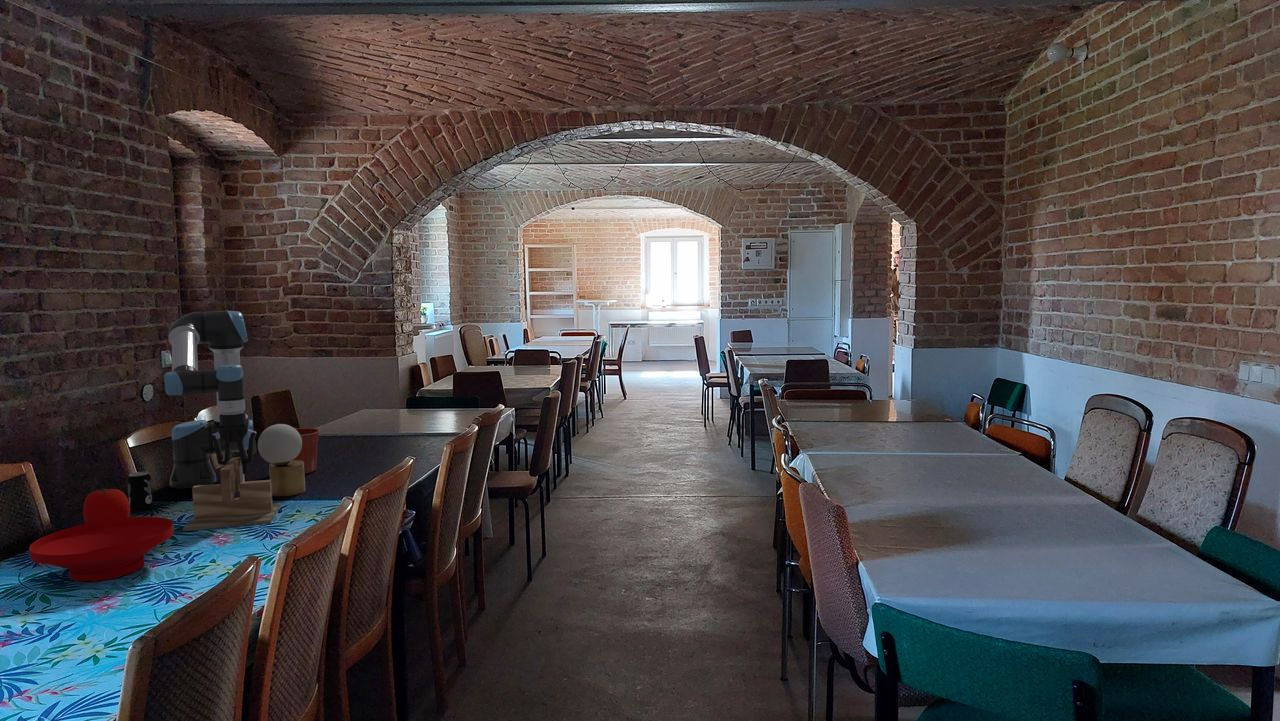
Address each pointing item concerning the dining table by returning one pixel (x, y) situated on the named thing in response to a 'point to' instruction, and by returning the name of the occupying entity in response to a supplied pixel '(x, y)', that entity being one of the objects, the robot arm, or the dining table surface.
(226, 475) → the walnut plate
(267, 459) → the lamp
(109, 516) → the tomato
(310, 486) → the dining table surface
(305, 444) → the flower pot
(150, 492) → the beverage can
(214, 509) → the wooden joinery piece
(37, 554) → the bowl
